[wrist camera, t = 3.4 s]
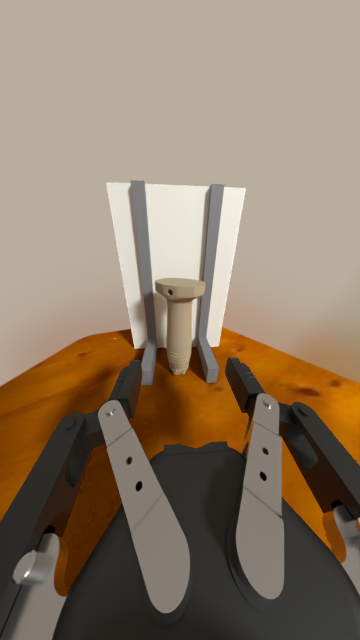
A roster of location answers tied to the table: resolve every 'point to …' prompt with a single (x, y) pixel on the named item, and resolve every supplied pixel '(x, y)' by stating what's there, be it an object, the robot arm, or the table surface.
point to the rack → (175, 259)
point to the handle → (179, 318)
